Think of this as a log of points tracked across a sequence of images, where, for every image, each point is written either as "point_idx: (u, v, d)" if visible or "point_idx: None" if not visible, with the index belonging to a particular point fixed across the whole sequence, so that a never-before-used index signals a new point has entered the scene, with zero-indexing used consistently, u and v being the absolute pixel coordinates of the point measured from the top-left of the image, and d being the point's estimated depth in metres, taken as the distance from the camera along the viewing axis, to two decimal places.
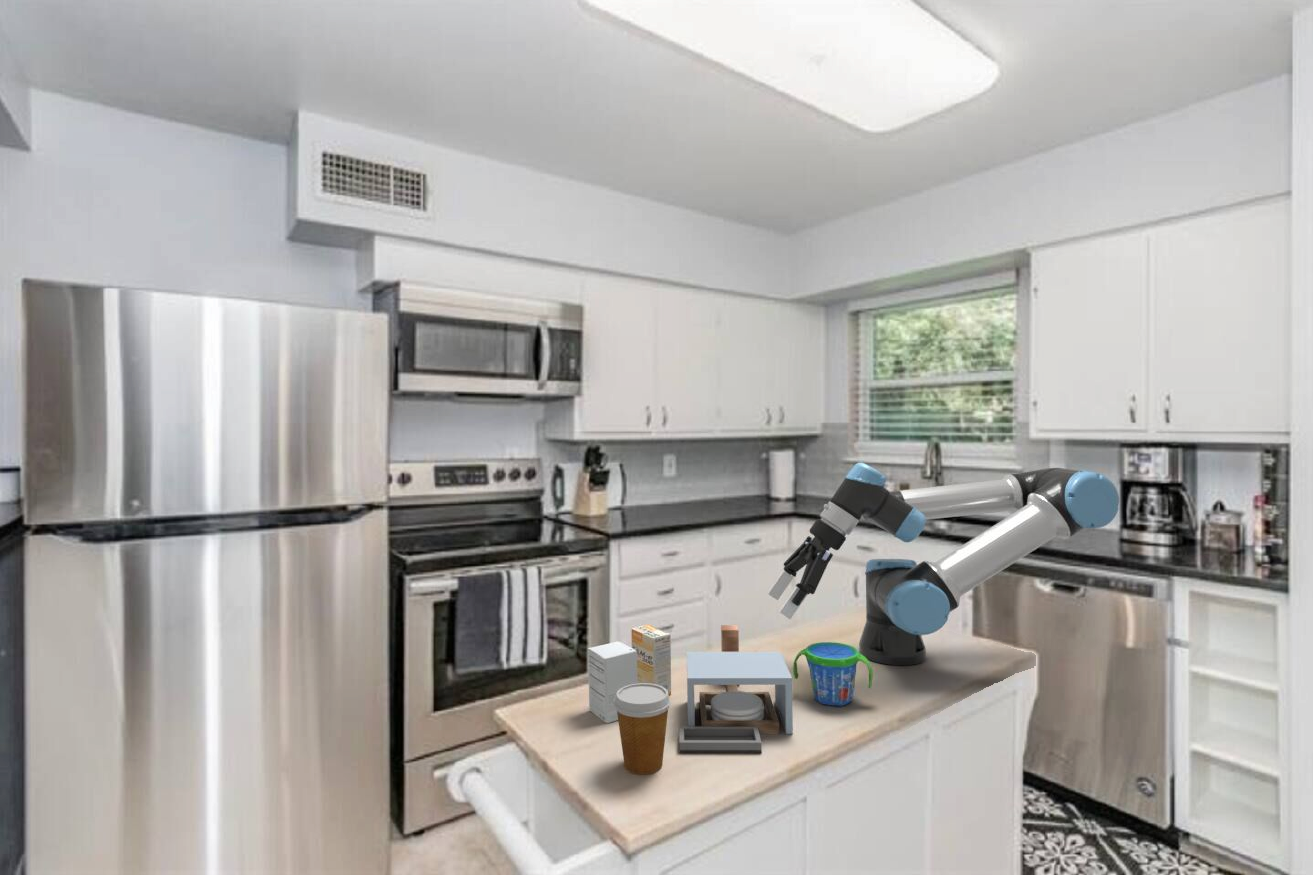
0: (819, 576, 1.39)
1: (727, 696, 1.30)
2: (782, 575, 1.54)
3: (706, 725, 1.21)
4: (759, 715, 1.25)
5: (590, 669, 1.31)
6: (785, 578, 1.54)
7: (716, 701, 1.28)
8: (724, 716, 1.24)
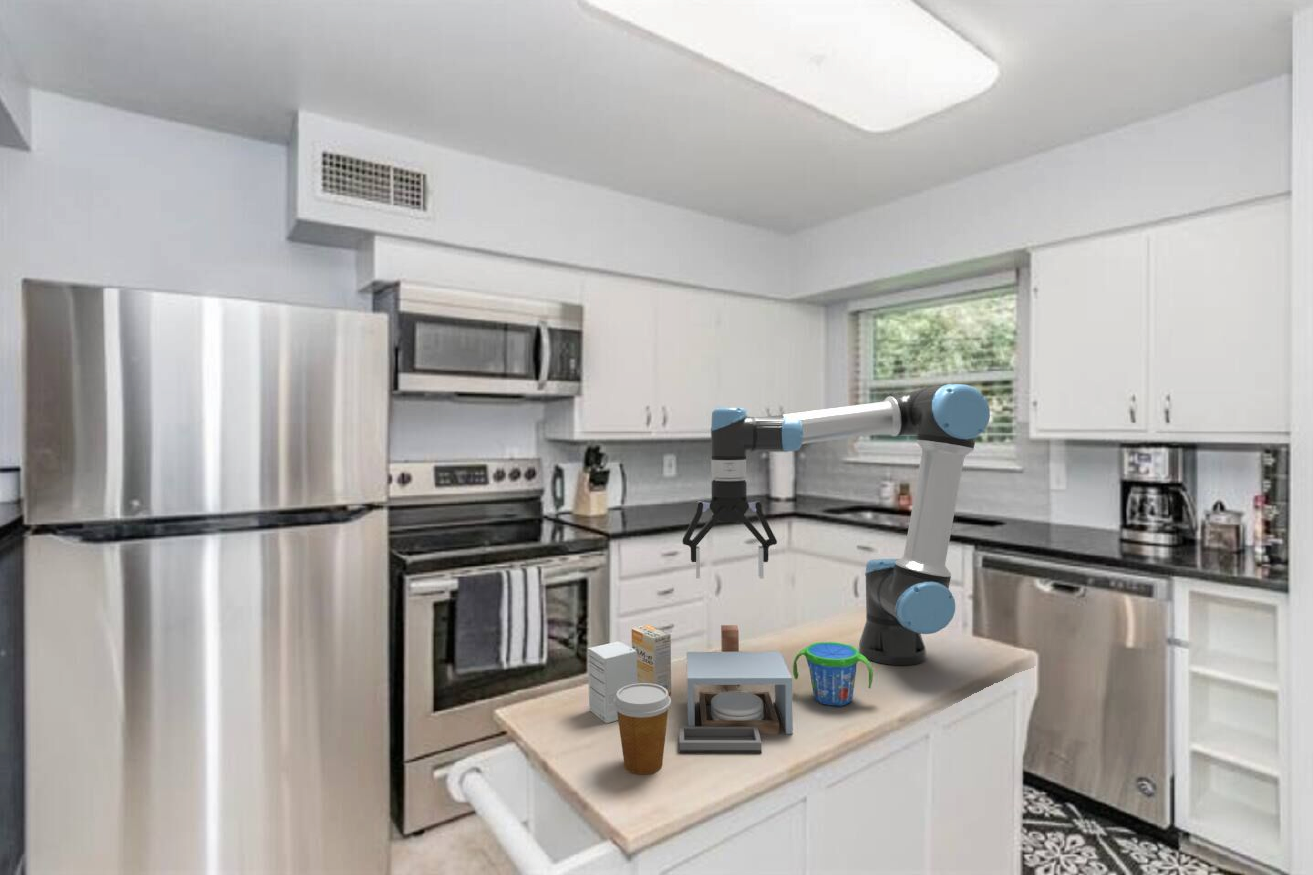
0: None
1: (727, 696, 1.30)
2: (699, 552, 1.44)
3: (706, 725, 1.21)
4: (759, 715, 1.25)
5: (590, 669, 1.31)
6: None
7: (716, 701, 1.28)
8: (724, 716, 1.24)
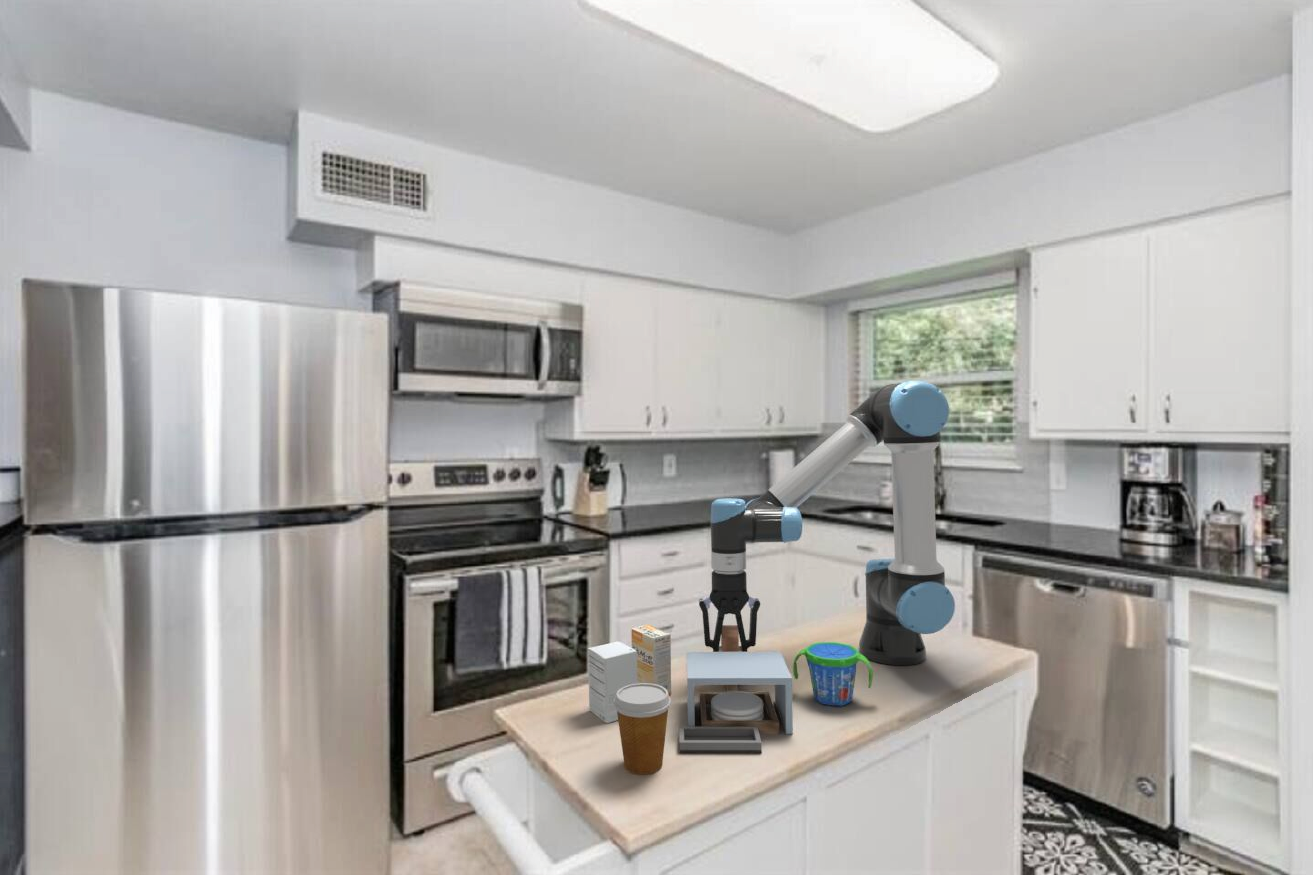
0: None
1: (727, 696, 1.30)
2: None
3: (706, 725, 1.21)
4: (759, 715, 1.25)
5: (590, 669, 1.31)
6: None
7: (716, 701, 1.28)
8: (724, 716, 1.24)
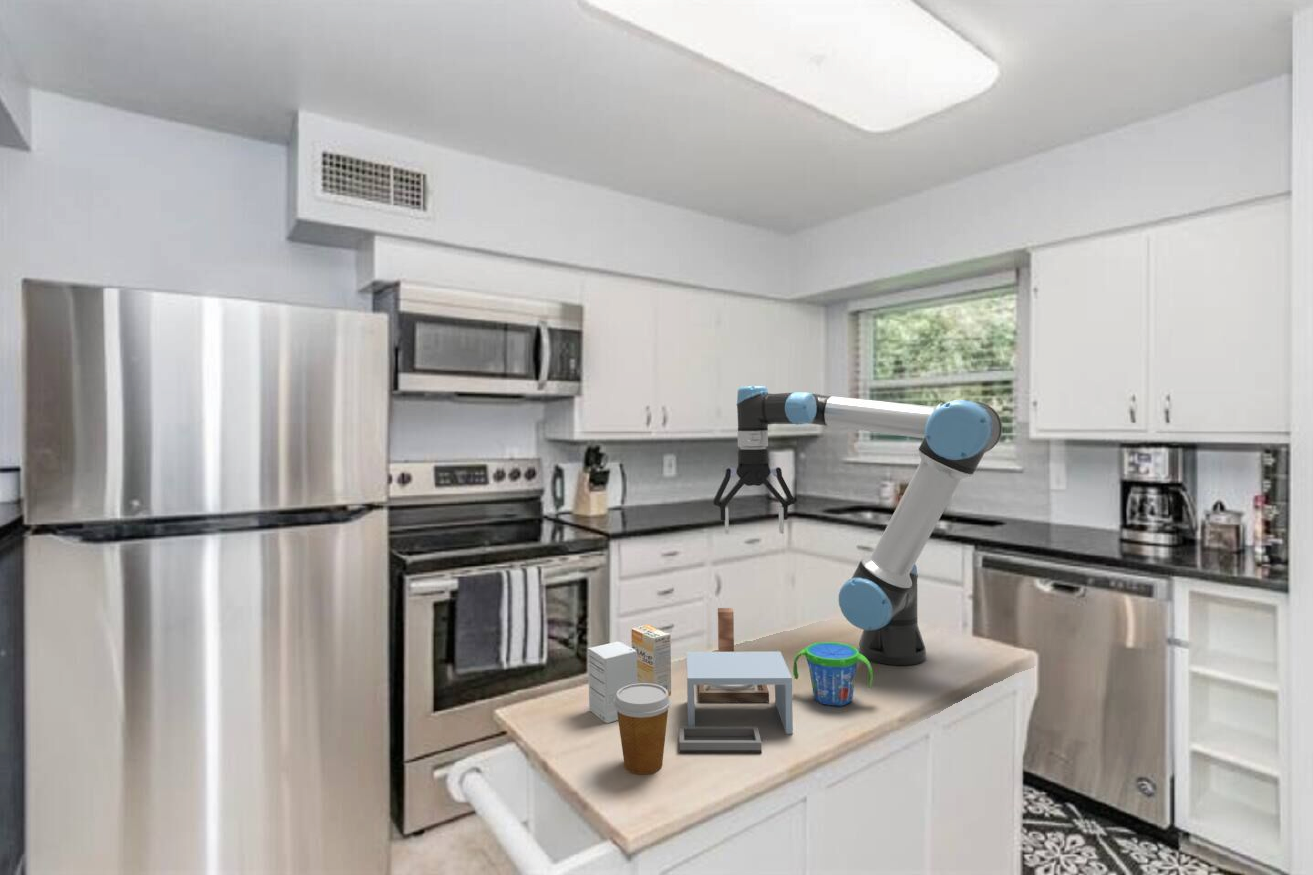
0: None
1: None
2: None
3: (703, 694, 1.35)
4: (752, 688, 1.38)
5: (590, 669, 1.31)
6: None
7: None
8: (720, 689, 1.37)
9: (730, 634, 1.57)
